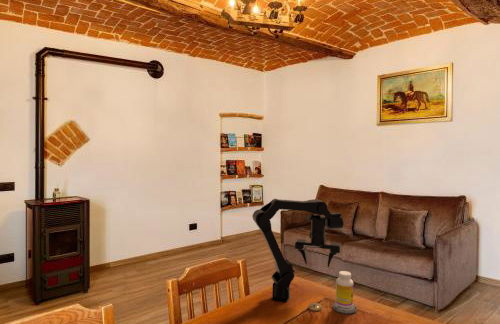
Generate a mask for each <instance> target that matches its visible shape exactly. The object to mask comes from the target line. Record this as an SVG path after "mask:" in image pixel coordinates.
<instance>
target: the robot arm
mask: <svg viewBox="0 0 500 324" xmlns="http://www.w3.org/2000/svg"><path fill="white" fill-rule="evenodd" d="M279 210H285V211H286V210H287V211H297V212H298V211H299V212H301V211H302V212H307V213H309V214H308V215H307V216H306V219H307V220H309V221H311V224H310V226H311V227H310V231H309V239H310V242H307V239H303V238H301V239H300V238H297V239H296V240H295V242H294V249H296V250H297V251H298V252H300V254H301V255H302V258H303V261H304V264H305V265H308V253H307V252H308V251H307V248H314V249H315V248H316V249H324V250H329V254H328V260H327V267H328V268H329V267H330V264H331V262H332V259H333V258H334V256H336V255H337V254H340V253H341V248H342V246H341V245H342V244H341V243H340V242H334V241H333V242H331V243H330V244H326V242H327V241H326V239H327V238H326V237H327V236H326V228H327V229H328V230H340V229H341V230H342V229H343V227H344V220H343V217H342V213H340V212H330V210H329V209H328V205H327V203H326V202H325V201H322V200H321V199H317V198H315V199H314V198H313V199H308V200H293V199H291V200H290V199H278V198H273V199H272V200H271V201H269V202H268V203H266V204H264V205H263V206H261V207H260V208H259V209H255V211H253V213H252V219H253V221H254V223H255V224H256V226H257V227H258V229H259V230H260V232H261V233H262V235H263V237H264V240H265V242H266V244H267V246H268V248H269V251H270V253H271V255H272V257H273V260H274V263H275V267H274V268H275V272H274V273H273V274H272V275H271V279H272V282H273V283H272V296H271V301H274V302H279V303H280V302H282V303H287V302H288V300H289V299H290V297H291V288H290V286H291V283H292V282H293V280H294V278H295V272H296V271H295V270H294V268H293V265H292V262H291V261H289V259H288V258H286V259H285V257H284V255H283V253H282V251H281V249H280V246H279V244H278V241H277V239H276V237H275V235H274V232H273V230H272V223H271V219H273V218H274V216H275V215H276V214H277V213H278V212H279Z"/></svg>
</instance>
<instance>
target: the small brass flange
mask: <svg viewBox="0 0 500 324" xmlns="http://www.w3.org/2000/svg"><path fill="white" fill-rule="evenodd" d="M308 309H309V310H310V311H312V312H321V311H322V309H323V308H322V305H321V304H320V303H317V302H311V303H309V304H308Z"/></svg>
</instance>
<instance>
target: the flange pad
mask: <svg viewBox="0 0 500 324" xmlns="http://www.w3.org/2000/svg"><path fill="white" fill-rule="evenodd" d="M332 309H333V311H335V312H336V313H338V314H341V315H353V314H355V313H356V312H357V306H356V305H355V304H354V303H353V305H352V307H350V308H342V307H339V306H337V305H336V303H335V302H333V303H332Z"/></svg>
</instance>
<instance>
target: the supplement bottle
mask: <svg viewBox="0 0 500 324" xmlns="http://www.w3.org/2000/svg"><path fill="white" fill-rule="evenodd" d="M338 276H339V277H337V278H336V279H335V301H334V303H336V305H337V306H339V307H342V308H350V307H352V305H353V304H354V302H353V301H354V300H353V299H354V281H353V279H351V278H352V273H351V272H350V271H348V270H347V271H346V270H341V271H339V272H338Z"/></svg>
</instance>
